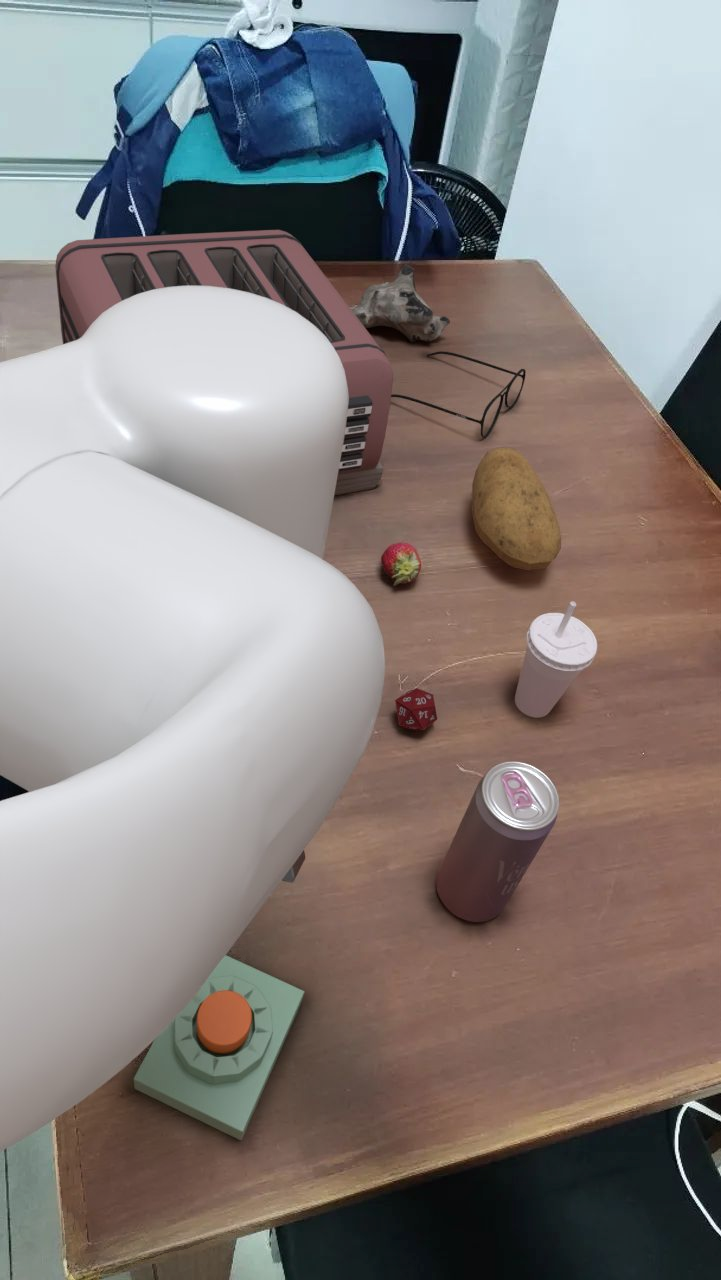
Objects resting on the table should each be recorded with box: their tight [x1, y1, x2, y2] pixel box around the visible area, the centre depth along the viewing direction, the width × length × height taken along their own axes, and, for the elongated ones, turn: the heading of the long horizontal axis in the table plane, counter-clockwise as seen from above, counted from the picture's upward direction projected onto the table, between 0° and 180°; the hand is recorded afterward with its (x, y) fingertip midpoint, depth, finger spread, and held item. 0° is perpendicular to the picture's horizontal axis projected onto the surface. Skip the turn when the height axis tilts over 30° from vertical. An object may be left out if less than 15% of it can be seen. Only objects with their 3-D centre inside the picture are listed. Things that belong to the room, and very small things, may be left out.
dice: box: [394, 687, 438, 732], centre depth 84 cm, size 4×4×4 cm
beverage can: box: [435, 760, 560, 923], centre depth 70 cm, size 6×6×15 cm
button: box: [197, 990, 252, 1054], centre depth 61 cm, size 4×4×2 cm
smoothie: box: [514, 601, 598, 719], centre depth 84 cm, size 6×6×14 cm
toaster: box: [54, 229, 394, 496], centre depth 104 cm, size 30×36×17 cm
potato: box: [471, 446, 562, 571], centre depth 101 cm, size 9×16×9 cm, turn 10°
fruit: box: [380, 542, 422, 586], centre depth 97 cm, size 4×6×5 cm
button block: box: [133, 954, 305, 1141], centre depth 63 cm, size 10×8×4 cm
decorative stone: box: [349, 264, 451, 343], centre depth 129 cm, size 16×9×10 cm, turn 95°
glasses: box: [391, 350, 527, 438], centre depth 122 cm, size 14×15×5 cm
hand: (189, 888), depth 46 cm, fingers closed
